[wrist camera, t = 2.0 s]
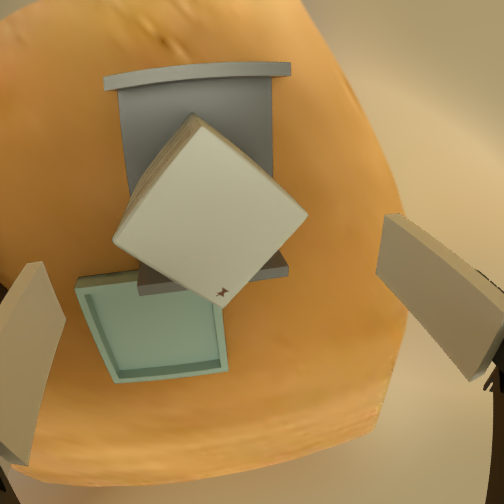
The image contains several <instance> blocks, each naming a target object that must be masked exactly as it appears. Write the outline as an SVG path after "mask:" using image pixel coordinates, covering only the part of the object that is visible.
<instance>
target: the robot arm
mask: <svg viewBox="0 0 504 504" xmlns="http://www.w3.org/2000/svg"><path fill="white" fill-rule="evenodd" d="M376 275H377V276H378V277H379V278H380V279H381V280H382V281H383V282H384V283H385V284H386V285H387V286H388V288H389V289H390V290H391V291H392V292H393V293H394V294H395V295H396V296H397V297H398V299H399V300H400V301H401V302H402V303H403V304H404V305H405V306H406V307H407V309H408V310H409V311H410V312H411V313H412V314H413V315H414V317H415V318H416V319H417V320H418V321H419V322H420V323H421V325H422V326H423V327H424V328H425V329H426V330H427V331H428V333H429V334H430V335H431V336H432V337H433V338H434V340H435V341H436V342H437V343H438V344H439V345H440V347H441V348H442V349H443V350H444V352H445V353H446V354H447V355H448V356H449V358H450V359H451V360H452V361H453V363H454V364H455V365H456V366H457V368H458V369H459V370H460V371H461V372H462V374H463V375H464V376H465V378H466V379H467V380H468V381H469V382H471V381H473V380H474V379H476V378H478V377H480V376H481V375H483V374H484V373H485V371H486V370H487V368H488V366H489V365H490V363H491V361H493V362H494V363H495V365H496V367H495V369H494V370H493V372H492V374H491V375H490V377H489V378H488V380H487V381H486V383H485V385H484V388H483V390H484V391H485V390H486V389H487V388H488V386H489V385H490V383H492V382H493V385H492V387H491V389H490V391H491V392H493V441H492V455H491V467H490V475H489V483H488V490H487V497H486V503H485V504H504V292H503V291H502V290H501V289H500V288H499V287H498V288H497V287H496V285H495V284H494V283H493V282H492V281H489V279H488V278H487V277H486V276H485V275H483V274H482V273H481V272H480V271H478V270H476V269H474V268H473V267H471V266H470V265H469V264H467V263H466V262H465V261H464V260H462V259H461V258H460V257H459V256H457V255H456V254H455V253H453V252H452V251H451V250H449V249H448V248H447V247H446V246H444V245H443V244H442V243H440V242H439V241H438V240H436V239H435V238H434V237H432V236H431V235H430V234H428V233H427V232H425V231H424V230H423V229H421V228H420V227H418V226H417V225H416V224H414V223H413V222H411V221H410V220H409V219H407V218H406V217H404V216H403V215H401V214H400V213H397V214H387V215H385V216H384V223H383V230H382V237H381V244H380V250H379V256H378V262H377V268H376ZM65 322H66V318H65V315H64V313H63V311H62V309H61V306H60V304H59V302H58V299H57V297H56V294H55V292H54V289H53V287H52V284H51V282H50V279H49V277H48V274H47V271H46V268H45V266H44V263H43V261H39V262H33V263H27V264H26V265H25V267H24V268H23V270H22V271H21V273H20V274H19V276H18V277H17V279H16V280H15V282H14V283H13V285H12V286H11V288H10V290H9V291H7V290H6V289H5V288H4V287H3V286H2V285H0V456H2V457H3V458H4V459H5V460H6V461H7V462H8V463H12V464H18V465H24V466H28V465H29V459H30V453H31V448H32V442H33V437H34V432H35V427H36V423H37V418H38V414H39V410H40V406H41V402H42V398H43V394H44V390H45V386H46V383H47V379H48V375H49V372H50V369H51V365H52V362H53V359H54V355H55V352H56V349H57V346H58V343H59V340H60V337H61V334H62V331H63V328H64V325H65ZM0 504H20V502H19V500H18V498H17V497H16V495H15V493H14V491H13V489H12V487H11V485H10V483H9V481H8V479H7V477H6V475H5V473H4V471H3V469H2V467H1V466H0Z"/></svg>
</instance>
